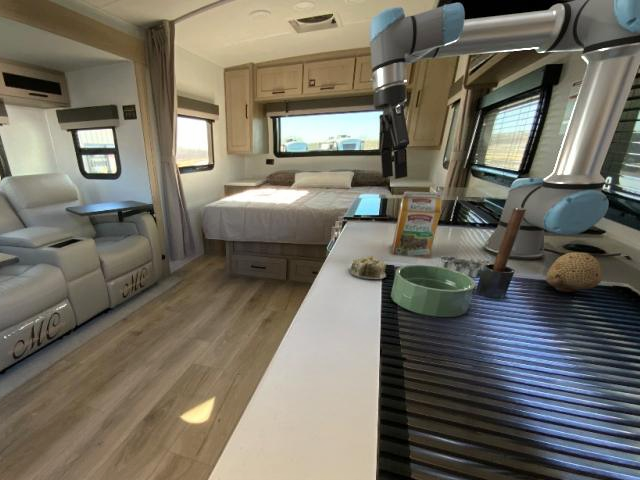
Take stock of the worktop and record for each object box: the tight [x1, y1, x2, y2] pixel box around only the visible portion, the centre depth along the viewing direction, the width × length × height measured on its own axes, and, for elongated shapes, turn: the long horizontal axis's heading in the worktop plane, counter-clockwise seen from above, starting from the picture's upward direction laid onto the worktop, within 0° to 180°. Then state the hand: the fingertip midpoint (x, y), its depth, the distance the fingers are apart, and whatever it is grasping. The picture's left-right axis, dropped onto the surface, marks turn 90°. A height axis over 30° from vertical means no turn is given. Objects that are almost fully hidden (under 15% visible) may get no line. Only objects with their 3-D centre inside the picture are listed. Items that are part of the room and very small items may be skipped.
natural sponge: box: [545, 251, 603, 293], centre depth 78 cm, size 9×9×10 cm
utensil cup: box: [474, 263, 515, 300], centre depth 78 cm, size 6×6×7 cm
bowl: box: [390, 264, 477, 318], centre depth 75 cm, size 16×16×6 cm
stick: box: [492, 208, 527, 272], centre depth 75 cm, size 2×2×20 cm
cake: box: [348, 255, 387, 280], centre depth 92 cm, size 10×10×5 cm
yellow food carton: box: [392, 191, 443, 259], centre depth 106 cm, size 11×11×19 cm
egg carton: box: [438, 254, 490, 278], centre depth 93 cm, size 11×8×4 cm
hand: (393, 177), depth 89 cm, fingers open, 13 cm apart
